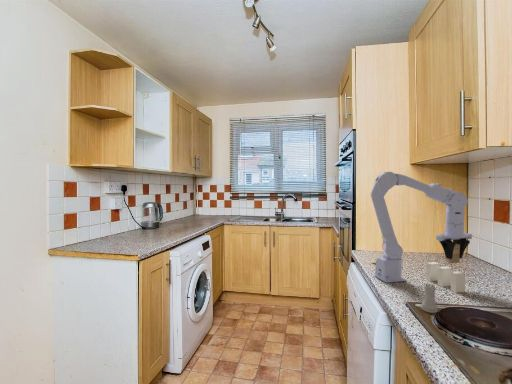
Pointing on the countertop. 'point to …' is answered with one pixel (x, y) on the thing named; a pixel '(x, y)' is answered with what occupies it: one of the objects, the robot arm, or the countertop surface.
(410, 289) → the countertop surface
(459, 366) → the countertop surface
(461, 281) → the domino
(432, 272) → the domino
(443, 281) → the domino
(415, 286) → the countertop surface
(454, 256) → the domino
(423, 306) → the rook chess piece
